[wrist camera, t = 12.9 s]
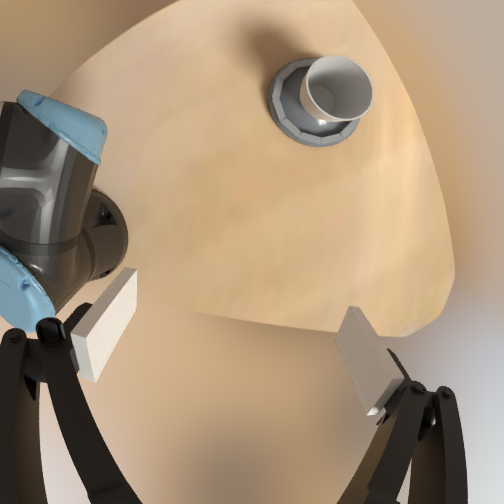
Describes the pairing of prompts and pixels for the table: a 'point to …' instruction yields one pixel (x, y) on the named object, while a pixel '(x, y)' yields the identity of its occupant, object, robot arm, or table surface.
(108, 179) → the table surface
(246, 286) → the table surface
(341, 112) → the cup
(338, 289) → the table surface
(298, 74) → the tray
